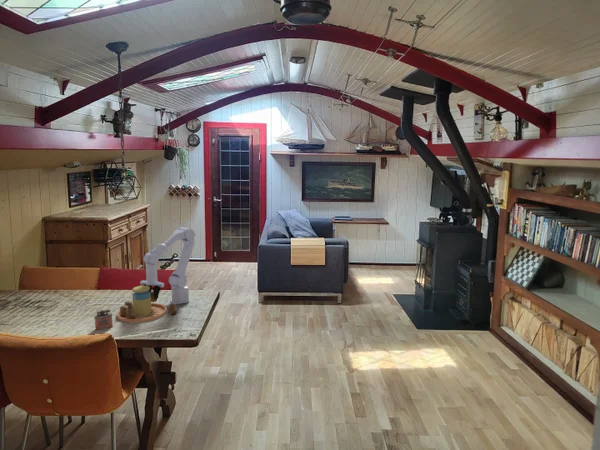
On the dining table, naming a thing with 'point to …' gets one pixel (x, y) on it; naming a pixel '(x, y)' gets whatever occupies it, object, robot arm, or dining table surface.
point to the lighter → (103, 320)
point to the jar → (141, 301)
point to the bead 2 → (172, 309)
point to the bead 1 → (152, 297)
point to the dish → (157, 311)
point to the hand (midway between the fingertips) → (152, 298)
